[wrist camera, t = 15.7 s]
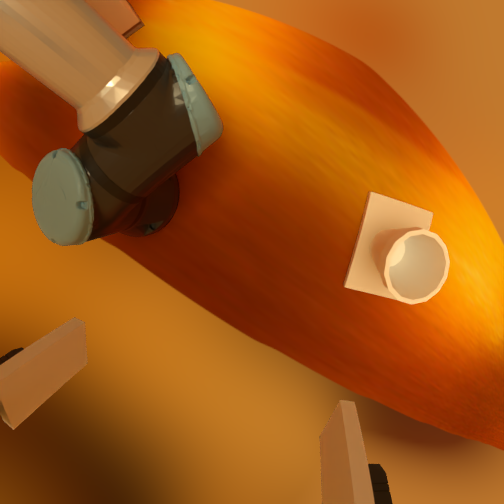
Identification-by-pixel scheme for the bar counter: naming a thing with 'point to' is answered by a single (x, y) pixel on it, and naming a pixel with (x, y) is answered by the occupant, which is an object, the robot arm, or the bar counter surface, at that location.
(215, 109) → the robot arm
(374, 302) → the bar counter surface
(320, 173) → the bar counter surface
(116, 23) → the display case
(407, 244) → the foam cup
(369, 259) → the tile
